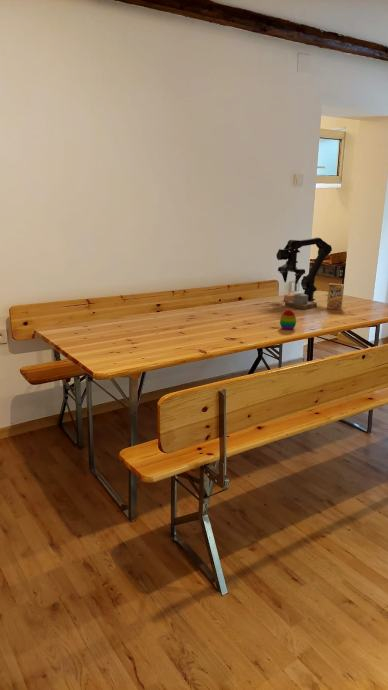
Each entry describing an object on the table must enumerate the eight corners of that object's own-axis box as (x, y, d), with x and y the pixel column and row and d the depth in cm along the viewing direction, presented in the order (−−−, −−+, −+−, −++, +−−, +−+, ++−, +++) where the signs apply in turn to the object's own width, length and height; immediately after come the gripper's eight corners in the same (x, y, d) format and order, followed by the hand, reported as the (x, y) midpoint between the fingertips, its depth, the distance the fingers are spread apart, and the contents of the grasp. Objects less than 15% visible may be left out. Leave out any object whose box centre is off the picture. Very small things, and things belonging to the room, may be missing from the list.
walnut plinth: (299, 303, 330) (299, 299, 330) (316, 307, 320) (316, 303, 319) (284, 306, 322) (285, 302, 321) (302, 309, 311) (302, 305, 311)
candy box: (326, 308, 316) (328, 284, 312) (327, 307, 320) (329, 283, 316) (341, 309, 314) (343, 285, 309) (341, 308, 317) (344, 284, 313)
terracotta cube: (288, 300, 342) (288, 294, 341) (294, 301, 339) (294, 295, 338) (283, 300, 339) (284, 295, 338) (289, 302, 336) (290, 296, 334)
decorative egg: (276, 327, 267) (277, 308, 264) (289, 326, 270) (291, 307, 267) (285, 331, 260) (286, 312, 257) (298, 329, 263) (300, 310, 260)
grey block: (300, 301, 324) (300, 293, 323) (307, 302, 320) (308, 295, 318) (294, 302, 320) (294, 294, 319) (301, 304, 316) (302, 296, 315)
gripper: (273, 259, 333) (271, 282, 337) (295, 261, 319) (293, 286, 324) (284, 257, 340) (282, 281, 344) (306, 260, 326) (304, 284, 331)
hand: (290, 283), depth 335 cm, fingers open, 9 cm apart
